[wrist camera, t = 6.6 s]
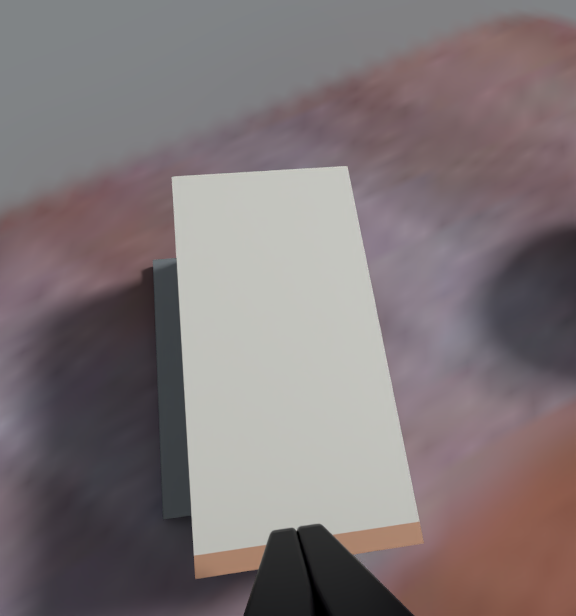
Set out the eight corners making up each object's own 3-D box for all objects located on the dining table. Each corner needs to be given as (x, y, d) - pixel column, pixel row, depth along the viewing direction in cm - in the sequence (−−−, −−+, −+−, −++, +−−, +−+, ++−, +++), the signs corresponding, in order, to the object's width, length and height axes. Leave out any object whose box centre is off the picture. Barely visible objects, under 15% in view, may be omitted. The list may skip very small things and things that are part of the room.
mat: (401, 485, 15) (405, 485, 15) (165, 518, 14) (162, 519, 14) (355, 249, 18) (357, 243, 17) (154, 265, 17) (153, 259, 16)
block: (424, 543, 10) (347, 166, 13) (195, 578, 9) (171, 176, 12) (370, 528, 14) (322, 246, 17) (211, 552, 14) (190, 257, 17)
